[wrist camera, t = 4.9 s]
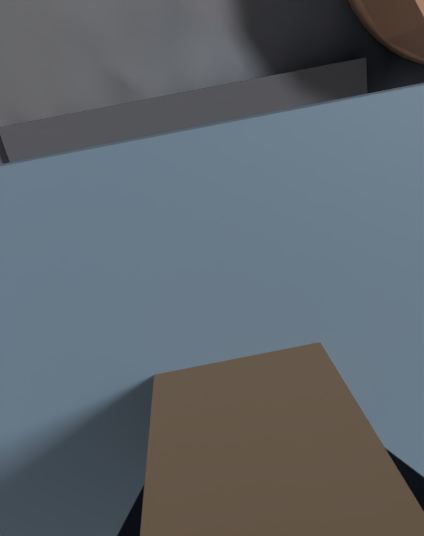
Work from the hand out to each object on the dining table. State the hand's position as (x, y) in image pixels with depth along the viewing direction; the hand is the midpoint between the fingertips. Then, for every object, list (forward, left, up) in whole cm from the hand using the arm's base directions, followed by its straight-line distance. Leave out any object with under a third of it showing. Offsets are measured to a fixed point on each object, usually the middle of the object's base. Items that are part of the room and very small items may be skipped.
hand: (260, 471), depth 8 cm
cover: (0, 0, -2) cm, 2 cm away
